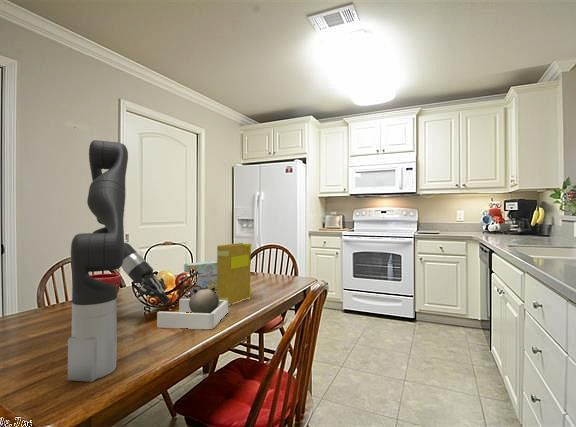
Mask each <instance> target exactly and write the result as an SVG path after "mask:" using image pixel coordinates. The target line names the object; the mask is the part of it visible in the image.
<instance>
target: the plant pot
mask: <svg viewBox="0 0 576 427" xmlns="http://www.w3.org/2000/svg"><path fill="white" fill-rule="evenodd" d="M89 275H90V276H91V277H92V278H94V279H96V280H98V281H101V282H105V283H109V284H113V285H115V286H116V287H117V295H118V293H119V290H120V286H121V282H122V281H121V280H122V275H121V274H120V273H119V274H118V273H96V274H89ZM117 300H119V299H118V297H117Z"/></svg>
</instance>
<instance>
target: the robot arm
mask: <svg viewBox="0 0 576 427" xmlns="http://www.w3.org/2000/svg"><path fill="white" fill-rule="evenodd" d="M128 160H129V153H128V148H127V146H126V145H125V144H124V143H121V142H117V141H110V140H109V141H108V140H106V141H105V140H97V139H96V140H92V141H91V142H90V144H89V148H88V162H89V167H90V168H89V169H90V173H91V174H90V175H91V180H92V181H91V183H90V184H89V185H90V186H89V188H88V195H87V201H86V202H87V206H88V208H89V210H90V212H91V213H92V214H93V215H94V217H95V218H96V221H97V222H98V223H99V224H100V225H104V227H100V228H99V229H95V230H94V231H93V232H92V233H91V232H90V233H89V232H87V233H86V232H85V233H77V234H75V235H74V236H73V238H72V241H71V244H70V262H71V337H69V338H68V339H67V381H75V382H91V383H92V382H94V381H95V380H98V379H101V378H103V377H106V376H108V375H111V373H113V372H114V371H115V370H116V368H117V355H118V354H117V351H118V350H117V347H118V346H117V345H118V343H117V336H118V335H117V334H118V325H117V324H118V321H117V320H118V299H117V298H118V294H117V287H116V286H115V285H113V284H109V283H105V282H101V281H98V280H96V279H94V278H92V277H91V276H90V275H91V274H90V273H94V272H95V273H97V272H108V271H109V272H110V271H115V270H116V271H117V270H119V269H120V268H122V270H123V271H124V273H126V275H127V276H128V277H129V278H130V279H131V280H132V281H133V283H134V284H136V285H138V284H139V285H140V286H141V288H140V289H139V292H140V293H142V294H144V295H147V296H148V297H150V298H157V299H158V300H160V302H161V303H162V304H164V305H167V304H169V303H170V302H171V298H170V297H169V296H168V295H167V294H166V293H165V292H166V290H167V287H166V284H165V280H164V279H163V278H162V277H161V278H160V279H159V278H157V277H158V276H156V275H154V274H153V273H154V268H152V266H151V265H150V264H149V263H148V262H147V261H146V260H145V259H144V257H143V256H142V255H141V254H139V253H138V252H137V251H136V250H135V249H134V248H133V246H132V245H131V244H129V243H128V242H125V231H124V230H125V229H124V217H125V205H126V174H127V168H128ZM103 170H107V171H105V172H103Z"/></svg>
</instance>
